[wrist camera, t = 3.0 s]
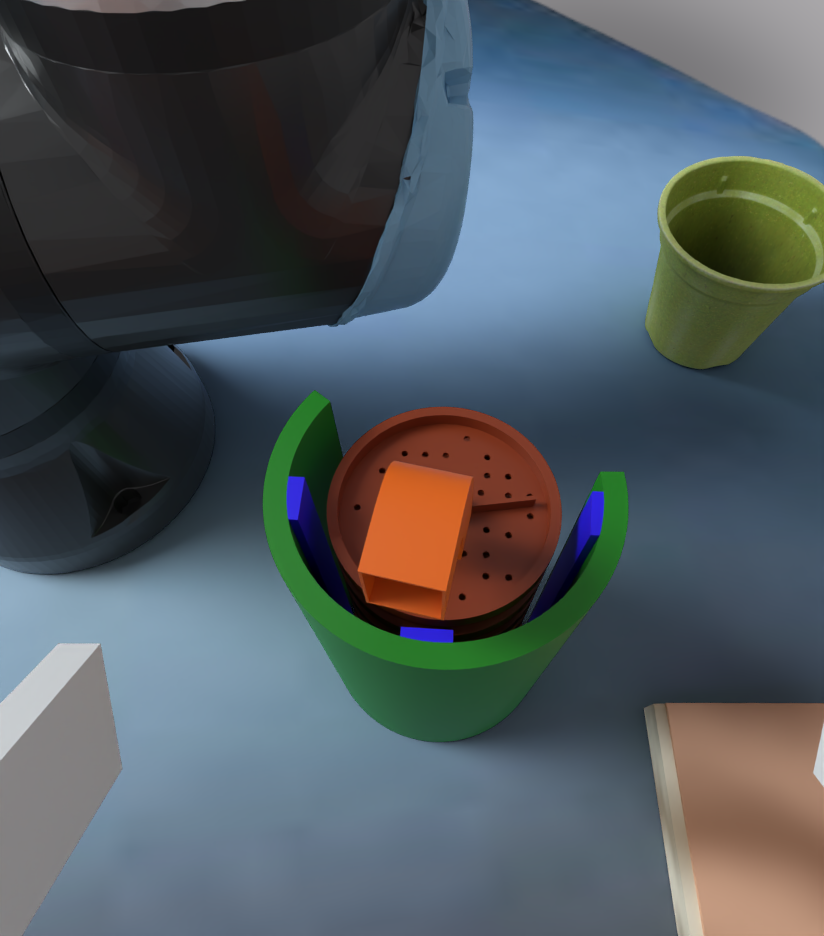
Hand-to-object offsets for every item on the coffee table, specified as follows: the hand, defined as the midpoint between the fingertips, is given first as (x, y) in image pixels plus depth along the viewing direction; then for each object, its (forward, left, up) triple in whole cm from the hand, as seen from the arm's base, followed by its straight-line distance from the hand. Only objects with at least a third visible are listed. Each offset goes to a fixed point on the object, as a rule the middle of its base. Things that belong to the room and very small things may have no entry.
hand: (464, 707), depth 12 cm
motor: (-6, 0, -20) cm, 21 cm away
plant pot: (-25, +16, -20) cm, 35 cm away
